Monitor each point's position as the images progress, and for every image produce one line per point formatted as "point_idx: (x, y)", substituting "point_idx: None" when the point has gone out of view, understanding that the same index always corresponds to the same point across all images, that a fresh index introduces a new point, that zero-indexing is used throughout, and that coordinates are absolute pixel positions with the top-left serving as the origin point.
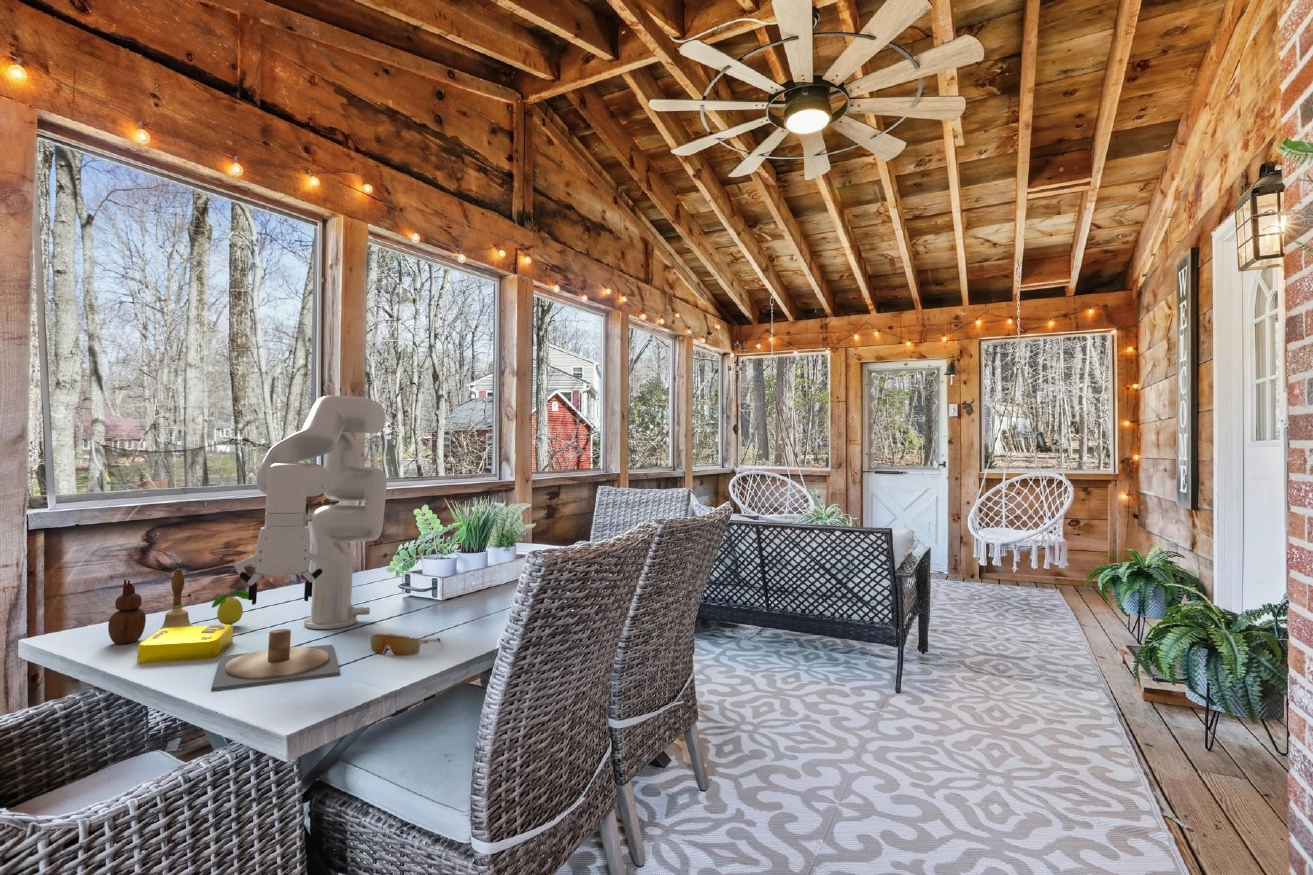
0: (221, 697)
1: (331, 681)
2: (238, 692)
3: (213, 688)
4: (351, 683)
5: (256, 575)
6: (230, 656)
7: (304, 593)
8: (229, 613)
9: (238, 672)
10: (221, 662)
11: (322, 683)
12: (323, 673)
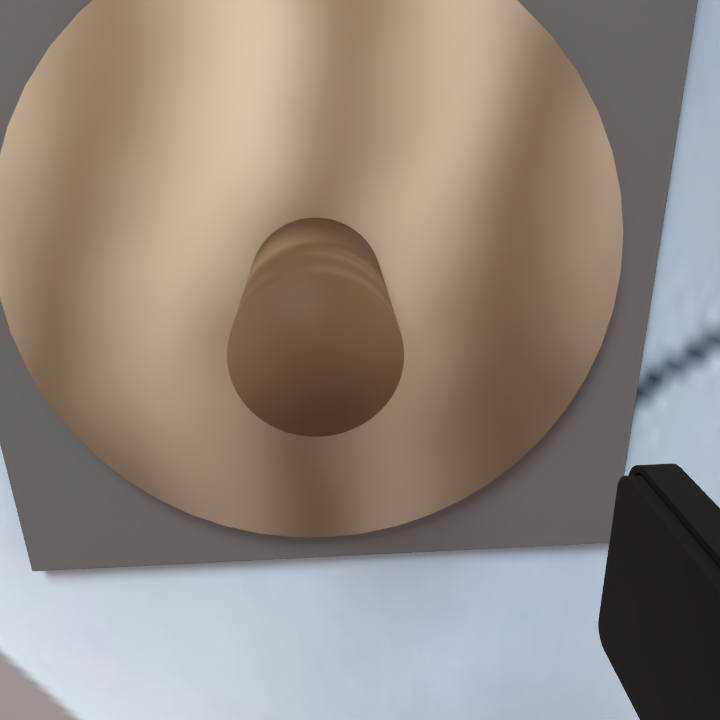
0: (110, 649)
1: (556, 604)
2: (169, 614)
3: (44, 566)
4: None
5: None
6: None
7: (649, 600)
8: None
9: (116, 459)
10: None
11: (516, 616)
12: (538, 538)
